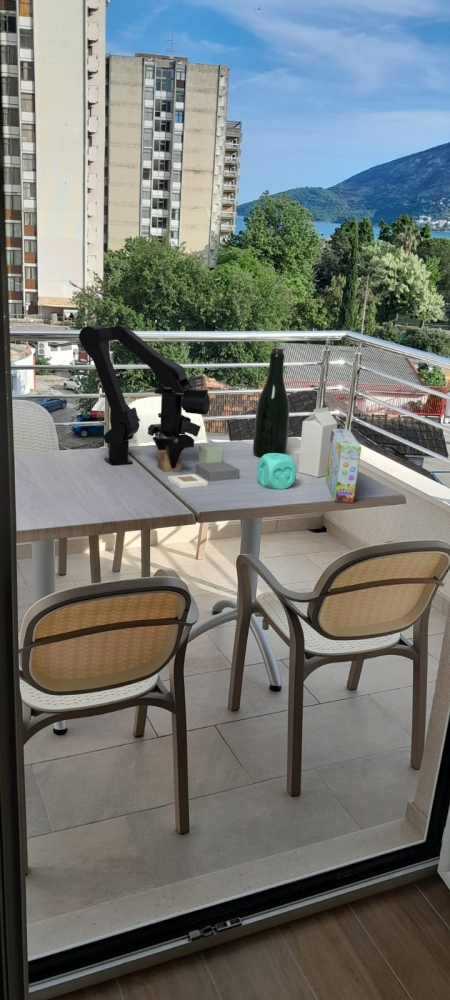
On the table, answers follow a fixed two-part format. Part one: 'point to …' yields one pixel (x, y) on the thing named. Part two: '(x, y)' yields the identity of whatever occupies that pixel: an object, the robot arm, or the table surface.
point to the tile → (187, 481)
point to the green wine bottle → (272, 410)
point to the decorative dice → (276, 471)
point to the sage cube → (210, 454)
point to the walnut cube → (167, 462)
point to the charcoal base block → (217, 471)
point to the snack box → (343, 465)
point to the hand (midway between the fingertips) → (169, 465)
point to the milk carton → (316, 442)
